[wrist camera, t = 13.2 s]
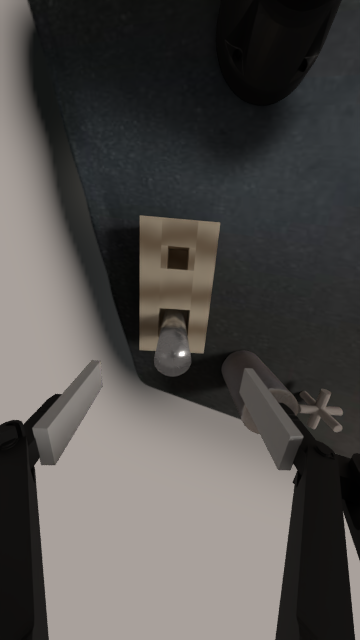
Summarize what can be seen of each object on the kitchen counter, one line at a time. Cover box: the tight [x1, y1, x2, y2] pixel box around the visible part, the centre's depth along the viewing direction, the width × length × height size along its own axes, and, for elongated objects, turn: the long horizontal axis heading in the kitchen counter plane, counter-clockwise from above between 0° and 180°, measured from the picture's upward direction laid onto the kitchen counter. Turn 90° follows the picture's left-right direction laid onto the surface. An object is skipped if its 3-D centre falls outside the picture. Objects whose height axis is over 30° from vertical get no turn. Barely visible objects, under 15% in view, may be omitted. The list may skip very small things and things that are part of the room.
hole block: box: [140, 216, 220, 353], centre depth 32 cm, size 22×12×7 cm, turn 176°
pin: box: [154, 309, 191, 376], centre depth 27 cm, size 4×4×18 cm
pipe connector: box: [298, 389, 343, 432], centre depth 40 cm, size 10×10×10 cm
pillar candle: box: [221, 350, 298, 434], centre depth 34 cm, size 10×10×15 cm
